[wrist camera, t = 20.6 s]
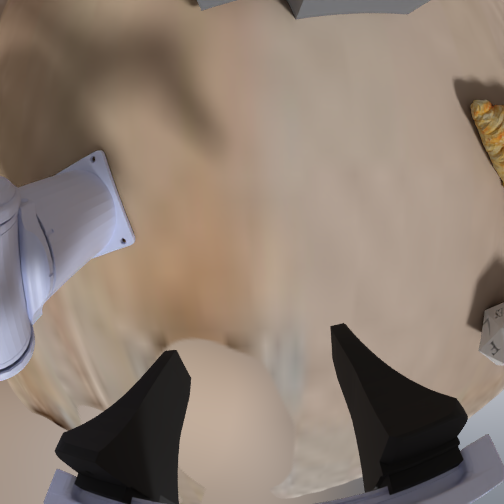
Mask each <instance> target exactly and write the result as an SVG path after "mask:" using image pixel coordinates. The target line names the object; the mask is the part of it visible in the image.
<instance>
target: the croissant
mask: <svg viewBox="0 0 504 504" xmlns="http://www.w3.org/2000/svg"><path fill="white" fill-rule="evenodd" d="M471 113H472V118H473V119H474V122H475V125H476V127H477V129H478V131H479V134H480V137H481V140H482V143H483V145H484V147H485V148H486V151H487V152H488V154H489V157H490V159H491V162H492V163H493V167H494V168H495V170H496V171H497V173H498V175H499V176H500V178H501V180H502V181H503V183H502V184H503V187H504V105H494V106H492V104H491V103H490V102H489V101H488V100H474V101H473V103H472V104H471Z"/></svg>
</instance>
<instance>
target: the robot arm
mask: <svg viewBox="0 0 504 504" xmlns="http://www.w3.org/2000/svg"><path fill="white" fill-rule="evenodd" d="M93 157H95V162H93ZM122 238H124V239H125V240H126V243H125V242H123V240H122ZM134 242H135V235H134V233H133V231H132V228H131V226H130V223H129V221H128V218H127V216H126V213H125V210H124V208H123V205H122V202H121V200H120V197H119V194H118V192H117V189H116V186H115V183H114V180H113V177H112V175H111V172H110V169H109V166H108V163H107V159H106V156H105V153H104V152H103V151H102V150H97V151H95V152H93V153H91V154H89V155H88V156H86V157H84V158H82V159H81V160H79V161H77V162H76V163H74V164H72V165H70V166H69V167H67V168H66V169H64V170H62V171H61V172H59V173H58V174H56V175H54V176H52V177H48V178H45V179H42V180H39V181H36V182H33V183H30V184H27V185H24V186H21V187H18V188H17V187H16V186H15V185H13V184H12V183H11V182H10V181H9V180H8V179H7V178H5V177H3V176H0V381H2V380H6V379H8V378H10V377H12V376H14V375H16V374H17V373H19V372H20V371H21V370H22V369H23V368H24V367H25V366H26V364H27V363H28V362H29V360H30V358H31V357H32V354H33V351H34V346H35V335H34V330H33V326H32V325H33V324H34V323H35V322H36V321H37V320H38V319H39V318H40V316H41V315H42V307H43V304H44V303H45V302H46V301H47V300H48V299H49V298H50V297H51V296H52V295H53V294H54V293H55V292H56V291H57V290H58V289H59V288H60V287H61V286H62V285H63V284H64V283H65V282H66V281H67V280H69V279H70V278H71V277H72V276H73V275H74V274H75V273H76V272H77V271H78V270H79V269H80V268H82V267H83V266H84V265H85V264H86V263H87V262H88V261H89V260H90V259H92V258H95V257H98V256H101V255H103V254H106V253H109V252H112V251H115V250H118V249H121V248H124V247H126V246H129V245H132V244H133V243H134ZM330 328H331V342H332V358H333V362H334V367H335V371H336V375H337V378H338V381H339V384H340V387H341V389H342V392H343V395H344V398H345V400H346V403H347V406H348V409H349V412H350V415H351V418H352V421H353V426H354V430H355V435H356V440H357V445H358V450H359V456H360V462H361V468H362V474H363V481H364V489H365V493H363V494H359V495H355V496H351V497H347V498H342V499H337V500H333V501H328V502H322V503H316V504H470V503H472V502H474V501H475V500H477V499H479V498H480V497H482V496H483V495H485V494H486V493H488V492H489V491H491V490H492V489H493V488H495V487H496V486H498V485H499V484H500V483H502V482H503V481H504V465H503V463H502V461H501V459H500V457H499V454H498V452H497V450H496V448H495V446H494V444H493V442H492V440H491V438H490V436H489V434H487V435H485V436H483V437H481V438H480V439H478V440H476V441H475V442H473V443H471V444H470V445H468V446H466V447H465V448H464V449H462V450H461V451H460V450H459V448H458V445H459V444H460V441H459V439H458V437H457V436H458V434H459V433H460V432H461V430H462V429H463V427H464V426H465V424H466V422H467V419H468V416H467V414H466V412H465V410H464V408H463V407H462V405H461V404H460V403H459V401H458V400H457V399H456V398H454V397H450V396H447V395H444V394H441V393H438V392H435V391H433V390H430V389H428V388H425V387H423V386H421V385H419V384H417V383H416V382H414V381H412V380H410V379H408V378H406V377H405V376H403V375H401V374H400V373H398V372H397V371H395V370H394V369H392V368H391V367H390V366H388V365H387V364H386V363H384V362H383V361H382V360H381V359H380V358H378V357H377V356H376V355H375V354H374V353H373V352H371V351H370V350H369V349H368V348H367V347H366V346H365V345H364V344H363V343H362V342H361V341H360V340H359V339H358V338H357V337H356V336H355V335H354V334H353V332H352V331H351V330H350V329H349V328H348V327H347V325H346V324H344V323H343V324H338V325H334V326H330ZM190 385H191V377H190V375H189V373H188V372H187V370H186V368H185V366H184V364H183V362H182V360H181V358H180V356H179V354H178V352H177V350H170V351H165V352H164V353H163V354H162V355H161V356H160V357H159V358H158V359H157V360H156V361H155V363H154V364H153V365H152V366H151V367H150V368H149V370H148V371H147V372H146V373H145V374H144V375H143V376H142V377H141V379H140V380H139V381H138V382H137V383H136V384H135V385H134V386H133V387H132V388H131V389H130V390H129V391H128V392H127V393H126V394H125V395H124V396H123V397H122V398H120V399H119V400H118V401H117V402H116V403H114V404H113V405H112V406H111V407H109V408H108V409H106V410H105V411H104V412H102V413H101V414H99V415H98V416H96V417H95V418H93V419H92V420H90V421H88V422H86V423H85V424H82V425H80V426H78V427H76V428H74V429H71V430H69V431H67V432H64V433H63V435H62V436H61V438H60V441H59V443H58V445H57V447H56V449H55V453H56V455H57V456H58V457H59V458H60V459H61V460H62V461H63V462H65V463H66V464H67V465H69V466H70V467H71V468H72V469H74V470H75V471H76V472H78V476H77V477H76V476H74V475H72V474H70V473H67V472H65V471H62V470H60V469H57V470H56V472H55V474H54V477H53V479H52V482H51V484H50V487H49V489H48V492H47V494H46V497H45V500H44V504H179V501H178V453H179V441H180V435H181V430H182V426H183V421H184V418H185V414H186V409H187V405H188V401H189V395H190Z"/></svg>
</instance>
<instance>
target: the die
mask: <svg viewBox="0 0 504 504" xmlns="http://www.w3.org/2000/svg"><path fill="white" fill-rule="evenodd" d="M479 351H480V352H481V353H482V354H483V355H485V356H486V357H487V358H489V359H490V360H491V361H492V362H494V363H495V364H496V365H504V302H503V303H501V304H499V305H496V306H494V307H492V308H489V309H487V310H485V312H484V320H483V328H482V334H481V340H480V346H479Z"/></svg>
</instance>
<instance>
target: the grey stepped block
mask: <svg viewBox="0 0 504 504" xmlns="http://www.w3.org/2000/svg"><path fill="white" fill-rule="evenodd" d="M197 1H198V4H199V6H200V8H201V11H202V10H205V9H208V8H212V7H215V6H218V5H221V4H225V3H229V2H232V1H236V0H197ZM287 1H288V3H289V5H290V7H291V10H292V12H293V14H294V16H295V18H296V19H301V18H308V17H315V16H324V15H335V14H351V13H395V14H409V13H411V12H412V11H414V10H415V9H417V8H419V7H420V6H422V5H423V4H425V3H427V2H428V1H430V0H287Z"/></svg>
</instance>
